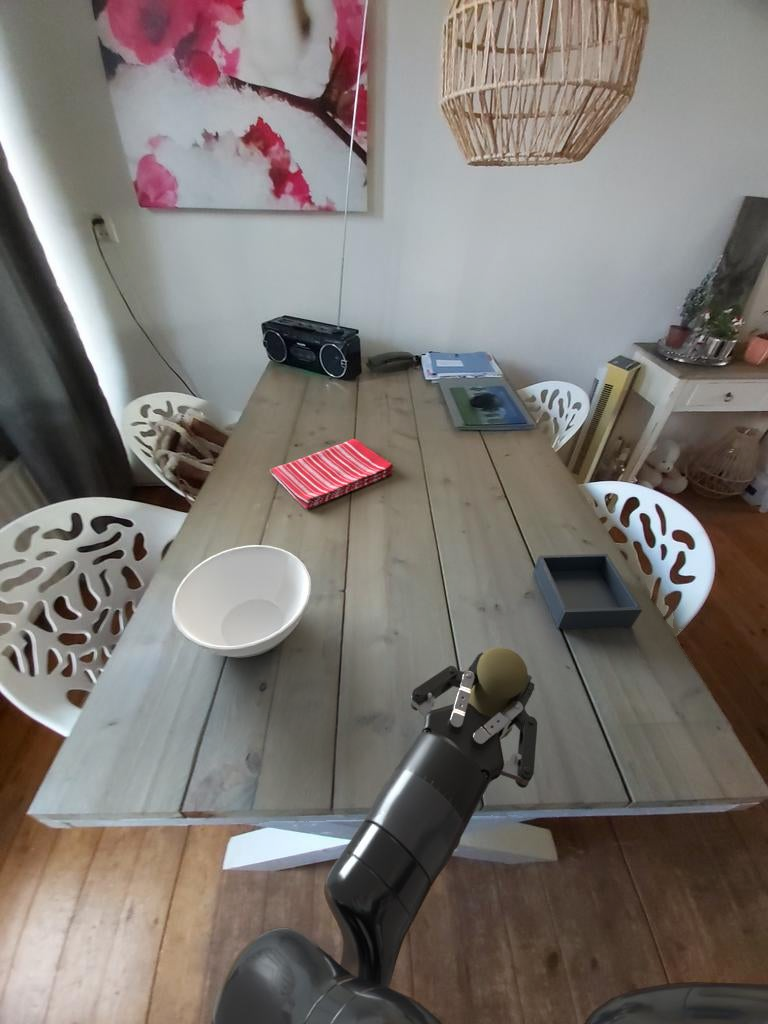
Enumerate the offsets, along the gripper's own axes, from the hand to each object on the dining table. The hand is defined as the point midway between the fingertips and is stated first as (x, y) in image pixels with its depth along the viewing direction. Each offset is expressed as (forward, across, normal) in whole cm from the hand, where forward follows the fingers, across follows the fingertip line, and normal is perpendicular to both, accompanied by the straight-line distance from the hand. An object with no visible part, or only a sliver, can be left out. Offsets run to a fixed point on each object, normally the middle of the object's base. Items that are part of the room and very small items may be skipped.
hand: (507, 667), depth 50 cm
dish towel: (+30, +55, +12) cm, 63 cm away
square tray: (+29, -2, +13) cm, 31 cm away
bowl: (-9, +36, +13) cm, 40 cm away
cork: (-3, 0, +7) cm, 7 cm away
